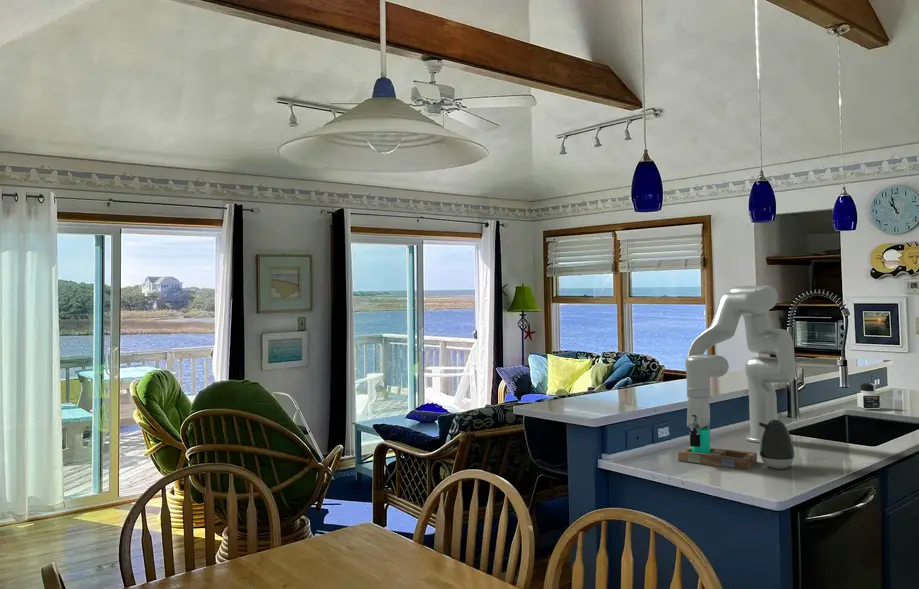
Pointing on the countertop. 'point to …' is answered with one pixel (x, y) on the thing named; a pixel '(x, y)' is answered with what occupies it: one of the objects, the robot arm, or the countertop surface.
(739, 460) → the socket block
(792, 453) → the pump dispenser
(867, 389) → the medicine bottle
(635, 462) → the countertop surface
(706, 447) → the candle
